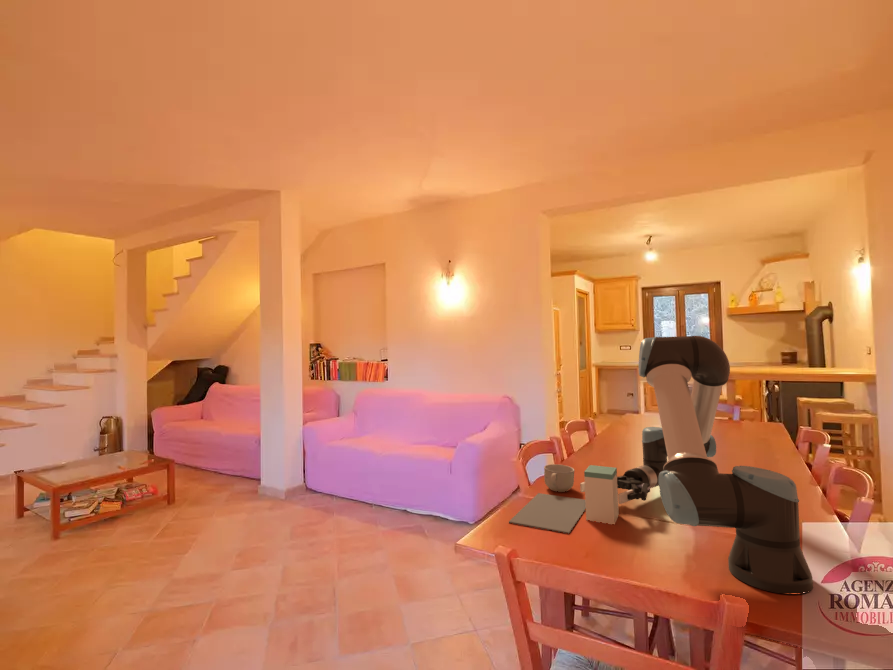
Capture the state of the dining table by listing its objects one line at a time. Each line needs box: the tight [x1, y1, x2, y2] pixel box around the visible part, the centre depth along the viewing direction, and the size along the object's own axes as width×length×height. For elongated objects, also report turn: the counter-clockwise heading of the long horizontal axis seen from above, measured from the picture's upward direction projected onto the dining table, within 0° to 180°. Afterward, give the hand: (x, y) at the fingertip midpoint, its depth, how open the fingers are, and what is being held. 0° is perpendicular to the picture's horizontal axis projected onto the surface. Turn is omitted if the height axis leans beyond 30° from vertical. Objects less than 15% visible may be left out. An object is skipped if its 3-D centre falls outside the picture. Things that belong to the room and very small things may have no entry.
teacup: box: [543, 463, 576, 493], centre depth 160 cm, size 14×11×8 cm
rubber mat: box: [508, 492, 586, 535], centre depth 140 cm, size 28×18×1 cm, turn 150°
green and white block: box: [583, 464, 620, 525], centre depth 134 cm, size 8×8×14 cm
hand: (599, 493), depth 134 cm, fingers open, 13 cm apart
